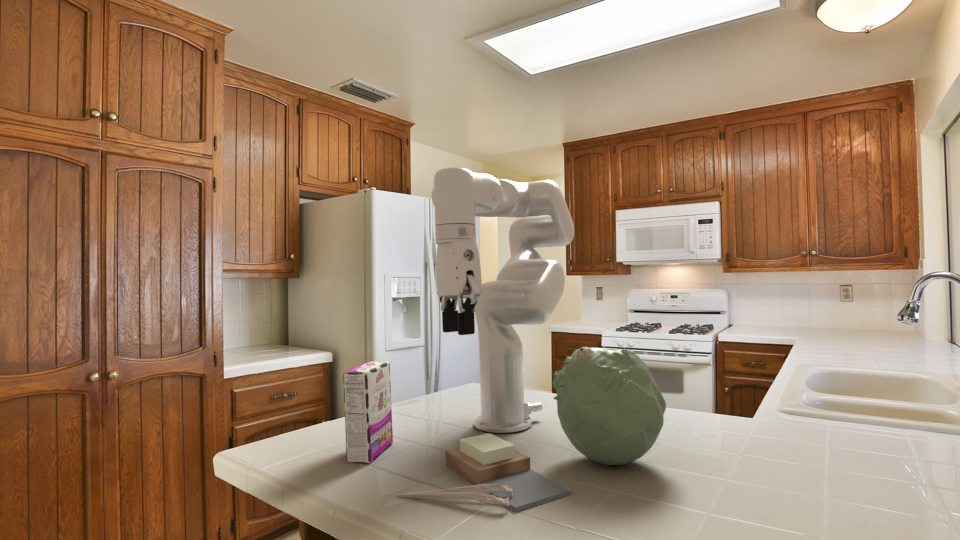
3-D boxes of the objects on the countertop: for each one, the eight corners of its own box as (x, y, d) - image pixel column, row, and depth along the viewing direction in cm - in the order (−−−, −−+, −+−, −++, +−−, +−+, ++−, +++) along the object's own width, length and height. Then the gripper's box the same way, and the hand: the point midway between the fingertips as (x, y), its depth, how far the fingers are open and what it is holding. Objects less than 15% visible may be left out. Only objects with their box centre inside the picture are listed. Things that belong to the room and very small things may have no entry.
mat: (531, 473, 82) (531, 469, 82) (570, 494, 74) (570, 490, 74) (479, 487, 77) (479, 483, 77) (515, 511, 69) (514, 507, 69)
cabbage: (673, 484, 76) (668, 353, 77) (549, 475, 81) (545, 352, 81) (663, 449, 91) (659, 340, 92) (559, 444, 96) (556, 340, 97)
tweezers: (514, 493, 73) (512, 479, 73) (508, 509, 68) (506, 495, 68) (404, 496, 77) (402, 484, 77) (391, 512, 73) (389, 498, 73)
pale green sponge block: (489, 444, 90) (489, 433, 90) (514, 457, 83) (514, 445, 83) (460, 450, 87) (459, 439, 87) (483, 465, 80) (483, 452, 80)
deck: (494, 453, 92) (494, 439, 92) (530, 472, 82) (530, 457, 83) (446, 465, 87) (445, 450, 87) (478, 487, 77) (477, 470, 77)
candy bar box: (370, 442, 100) (368, 360, 101) (393, 443, 99) (391, 361, 100) (344, 463, 89) (341, 371, 90) (370, 464, 88) (367, 371, 89)
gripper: (497, 231, 88) (500, 335, 87) (452, 239, 102) (454, 328, 102) (459, 230, 84) (462, 339, 84) (418, 239, 99) (421, 331, 98)
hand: (458, 332), depth 93 cm, fingers open, 5 cm apart
